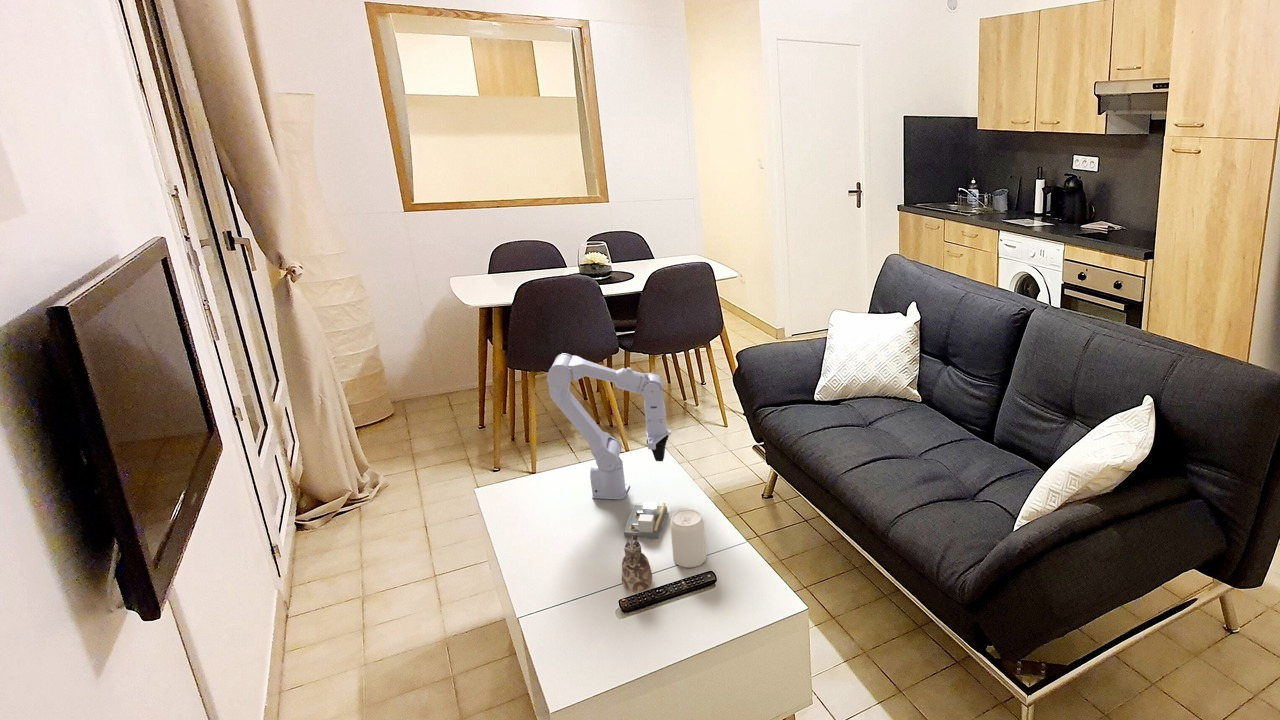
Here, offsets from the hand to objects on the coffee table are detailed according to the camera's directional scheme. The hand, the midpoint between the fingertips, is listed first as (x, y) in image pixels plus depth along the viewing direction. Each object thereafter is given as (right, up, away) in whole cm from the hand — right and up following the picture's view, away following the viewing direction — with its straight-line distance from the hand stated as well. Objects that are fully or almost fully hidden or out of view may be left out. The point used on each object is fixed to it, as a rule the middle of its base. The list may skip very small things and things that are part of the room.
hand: (659, 460), depth 198 cm
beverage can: (+7, -20, -28) cm, 35 cm away
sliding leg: (-4, -13, -11) cm, 18 cm away
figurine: (-6, -24, -34) cm, 42 cm away
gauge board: (-4, -15, -12) cm, 20 cm away
